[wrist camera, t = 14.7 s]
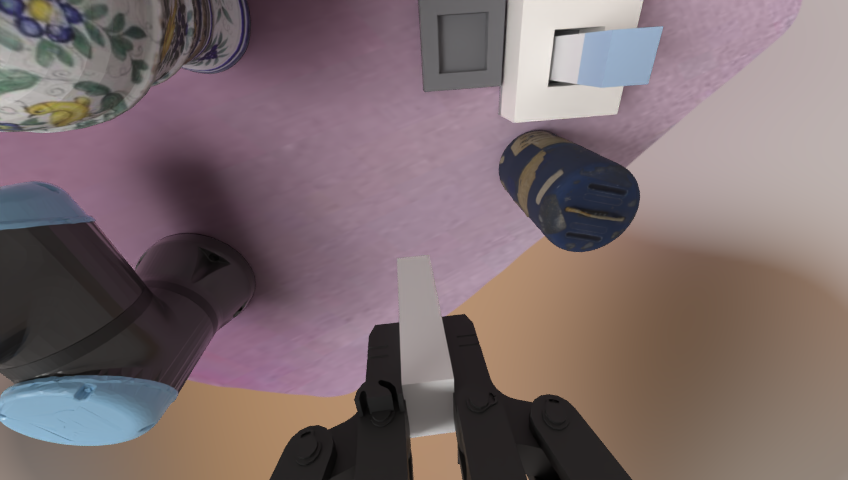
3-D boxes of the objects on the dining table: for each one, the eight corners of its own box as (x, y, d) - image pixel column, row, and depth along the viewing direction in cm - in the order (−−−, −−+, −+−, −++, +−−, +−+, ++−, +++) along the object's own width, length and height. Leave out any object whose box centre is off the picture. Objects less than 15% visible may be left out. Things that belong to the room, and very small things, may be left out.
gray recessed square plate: (423, 90, 39) (424, 91, 37) (418, -2, 34) (419, -5, 33) (496, 84, 39) (500, 85, 38) (500, -7, 35) (506, -11, 33)
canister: (535, 204, 48) (604, 275, 33) (482, 179, 45) (530, 243, 30) (576, 146, 44) (676, 195, 29) (520, 114, 41) (599, 150, 26)
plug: (534, 77, 38) (601, 87, 26) (538, 38, 36) (612, 29, 24) (567, 75, 39) (648, 84, 26) (572, 36, 37) (663, 26, 24)
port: (498, 114, 41) (514, 122, 36) (504, -2, 35) (524, -12, 30) (588, 107, 42) (617, 114, 36) (610, -9, 36) (647, -20, 30)
